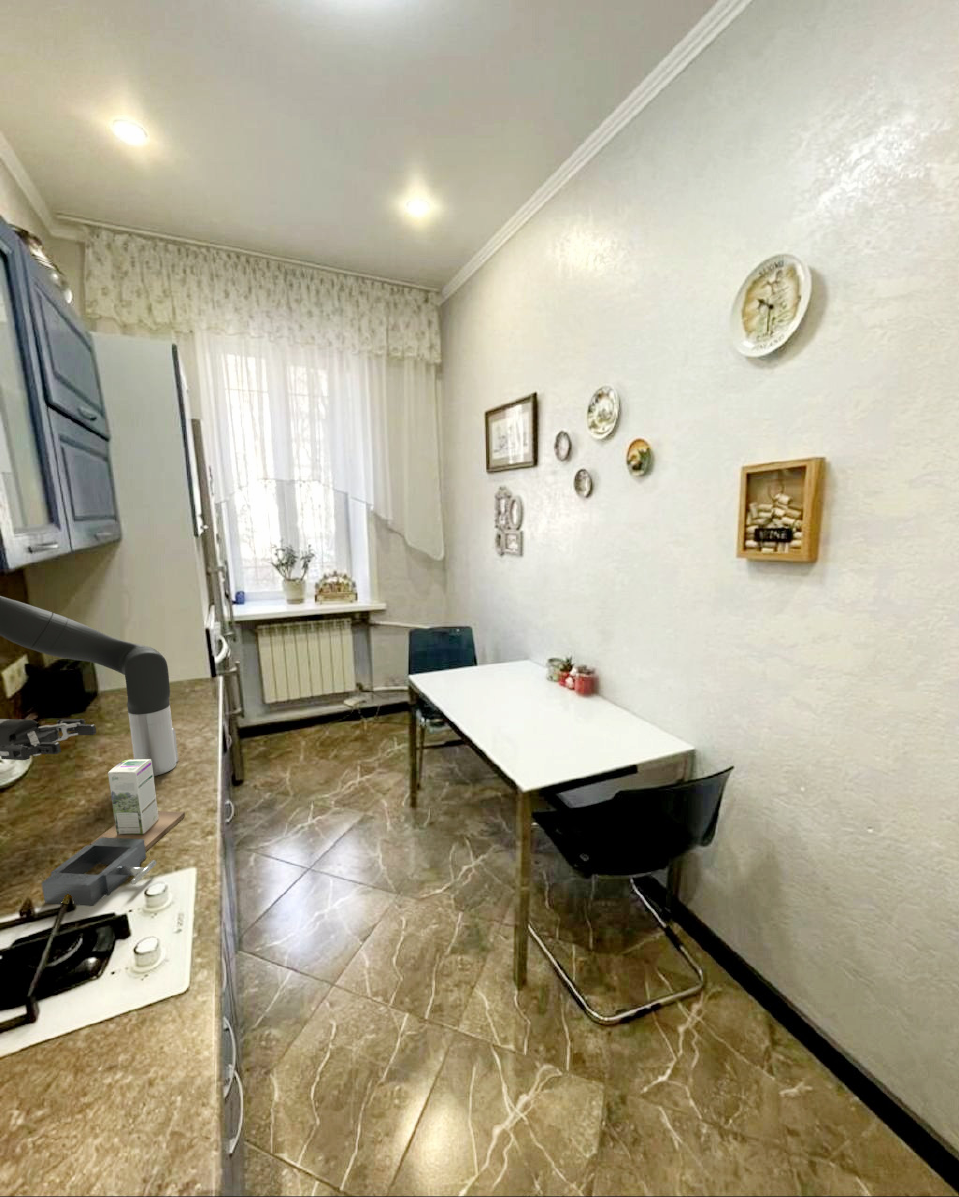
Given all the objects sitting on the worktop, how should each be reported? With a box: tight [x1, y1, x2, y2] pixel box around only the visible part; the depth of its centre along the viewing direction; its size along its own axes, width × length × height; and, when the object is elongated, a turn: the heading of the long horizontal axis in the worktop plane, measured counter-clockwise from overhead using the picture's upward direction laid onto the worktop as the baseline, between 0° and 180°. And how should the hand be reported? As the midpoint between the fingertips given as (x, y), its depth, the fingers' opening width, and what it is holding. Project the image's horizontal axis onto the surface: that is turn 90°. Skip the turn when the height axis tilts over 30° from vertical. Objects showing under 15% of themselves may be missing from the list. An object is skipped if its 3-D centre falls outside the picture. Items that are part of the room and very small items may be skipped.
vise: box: [41, 837, 157, 907], centre depth 92 cm, size 12×15×4 cm
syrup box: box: [107, 759, 159, 835], centre depth 105 cm, size 6×6×14 cm
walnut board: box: [89, 810, 186, 852], centre depth 107 cm, size 12×12×1 cm
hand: (77, 738), depth 104 cm, fingers open, 8 cm apart
